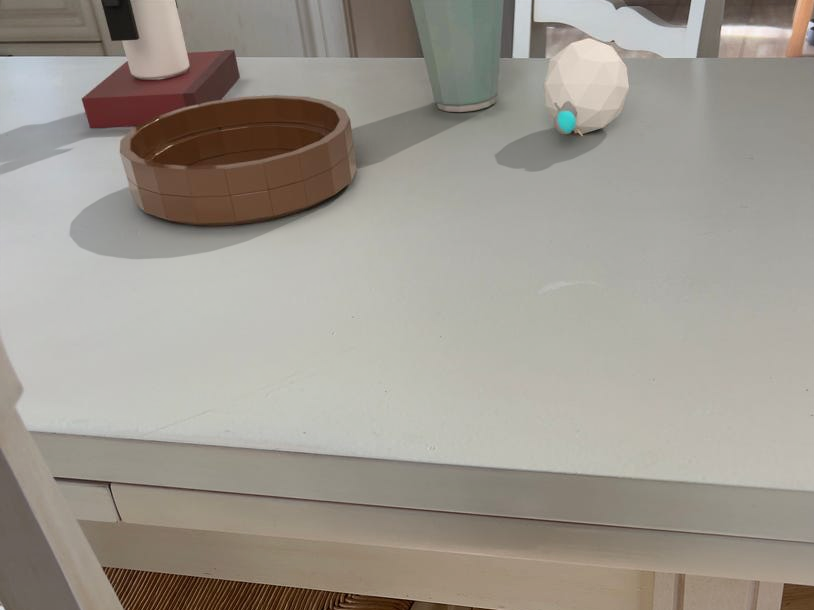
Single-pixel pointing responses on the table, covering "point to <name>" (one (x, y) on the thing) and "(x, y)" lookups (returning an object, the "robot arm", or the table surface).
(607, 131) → the table surface
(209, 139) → the bowl
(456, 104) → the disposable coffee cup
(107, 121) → the book
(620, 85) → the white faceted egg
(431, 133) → the table surface
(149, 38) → the can
